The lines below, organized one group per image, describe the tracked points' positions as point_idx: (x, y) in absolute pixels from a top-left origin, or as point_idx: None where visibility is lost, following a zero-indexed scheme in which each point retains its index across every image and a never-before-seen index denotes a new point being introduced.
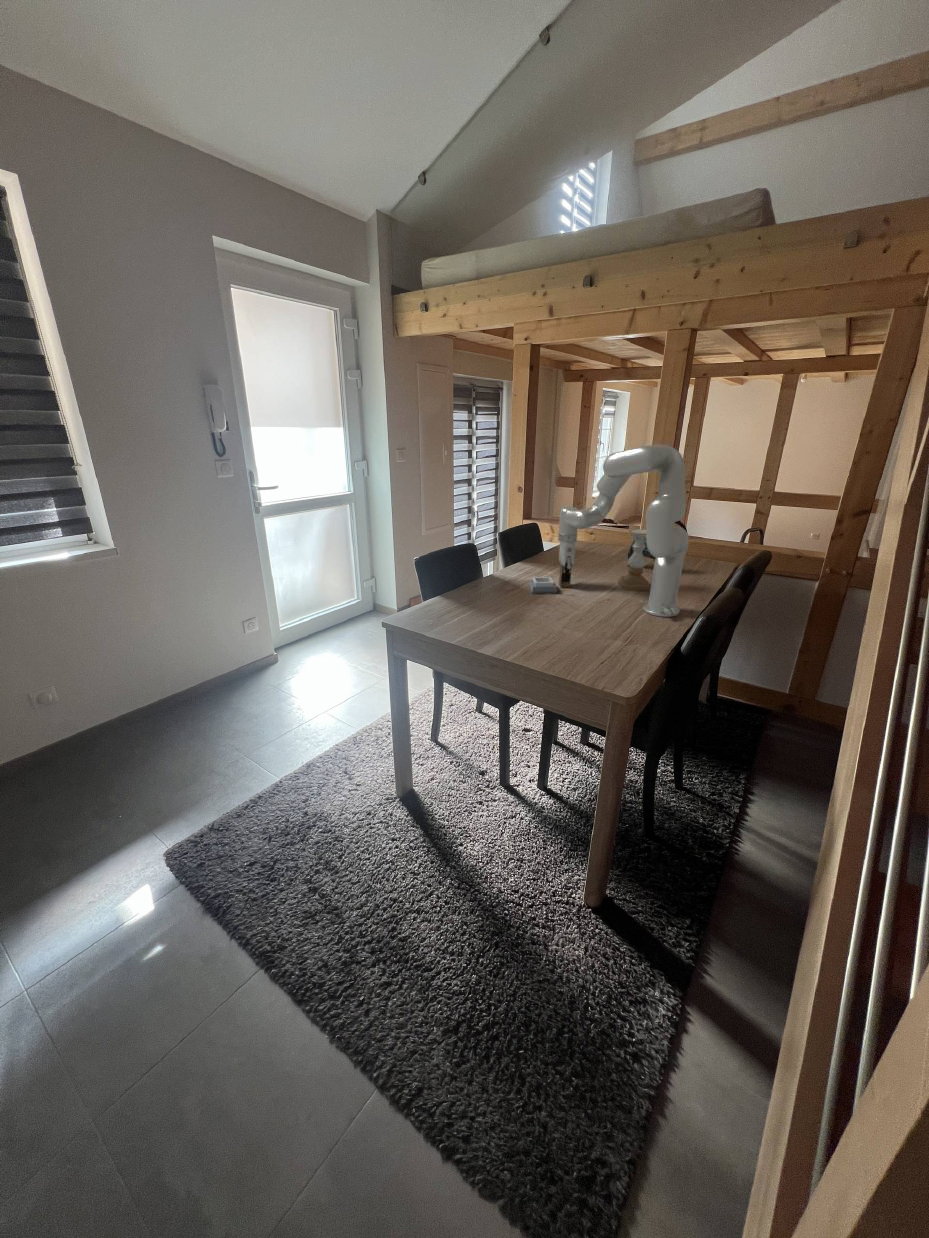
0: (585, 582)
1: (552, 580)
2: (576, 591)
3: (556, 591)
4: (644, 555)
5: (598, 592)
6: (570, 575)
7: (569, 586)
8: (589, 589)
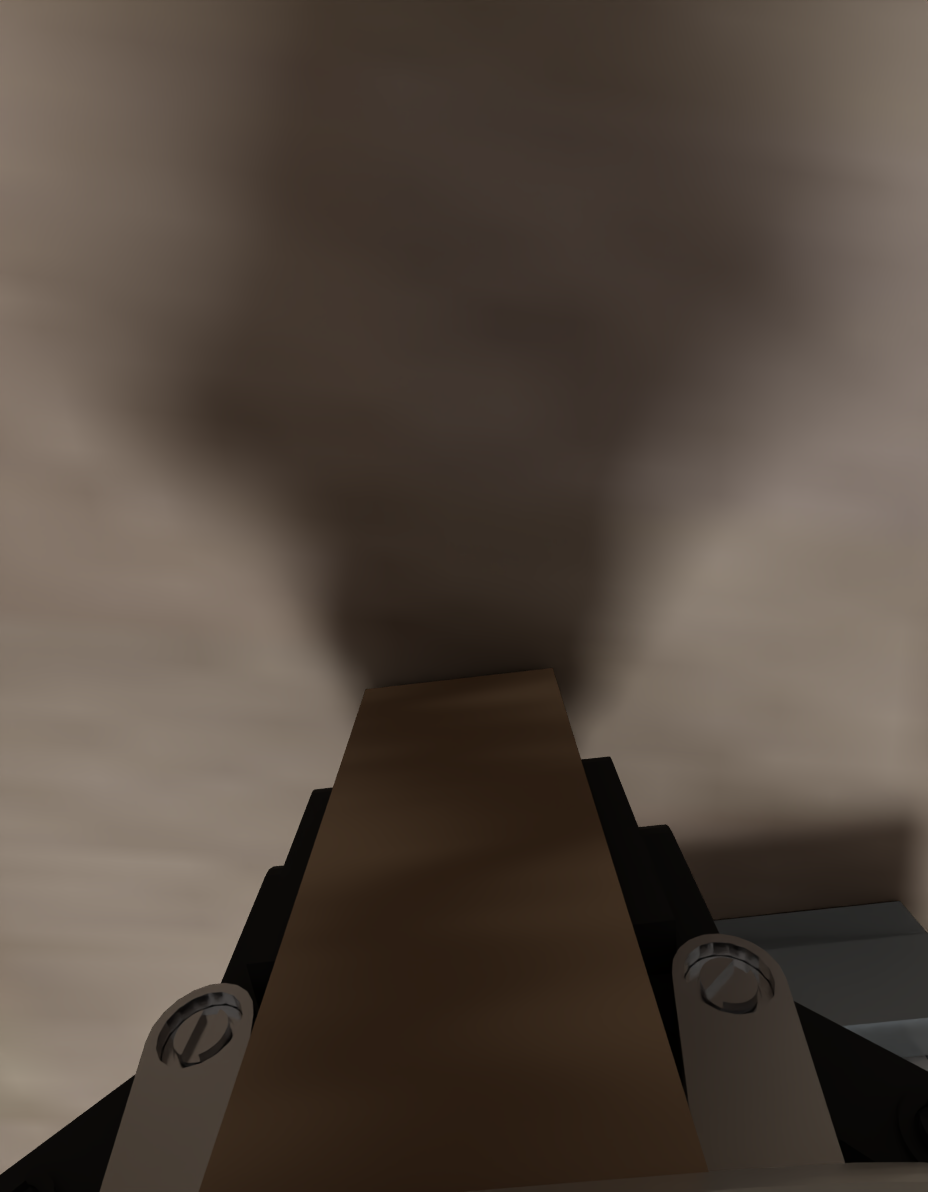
0: (108, 282)
1: None
2: (781, 560)
3: (924, 936)
4: None
5: (876, 40)
6: (596, 828)
7: (556, 685)
8: (644, 252)
